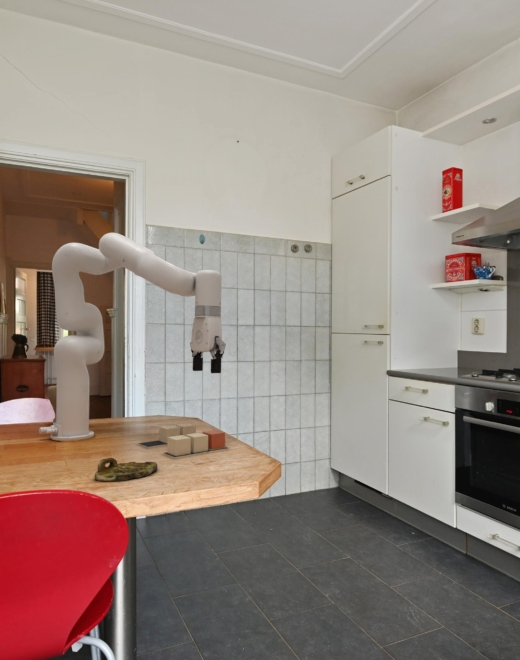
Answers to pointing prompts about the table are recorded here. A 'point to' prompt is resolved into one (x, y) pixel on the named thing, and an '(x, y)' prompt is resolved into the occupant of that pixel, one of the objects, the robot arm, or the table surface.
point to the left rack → (171, 433)
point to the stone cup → (53, 398)
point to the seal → (122, 470)
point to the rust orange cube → (215, 439)
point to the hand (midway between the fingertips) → (206, 372)
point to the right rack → (188, 445)
